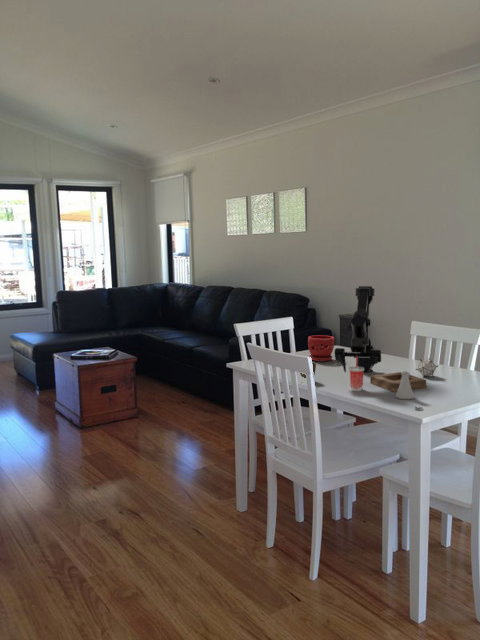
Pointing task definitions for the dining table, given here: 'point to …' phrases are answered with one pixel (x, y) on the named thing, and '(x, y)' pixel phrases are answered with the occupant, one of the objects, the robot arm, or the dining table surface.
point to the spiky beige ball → (426, 367)
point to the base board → (396, 381)
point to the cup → (313, 370)
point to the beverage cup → (356, 377)
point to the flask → (405, 387)
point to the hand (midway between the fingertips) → (356, 372)
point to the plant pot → (321, 347)
